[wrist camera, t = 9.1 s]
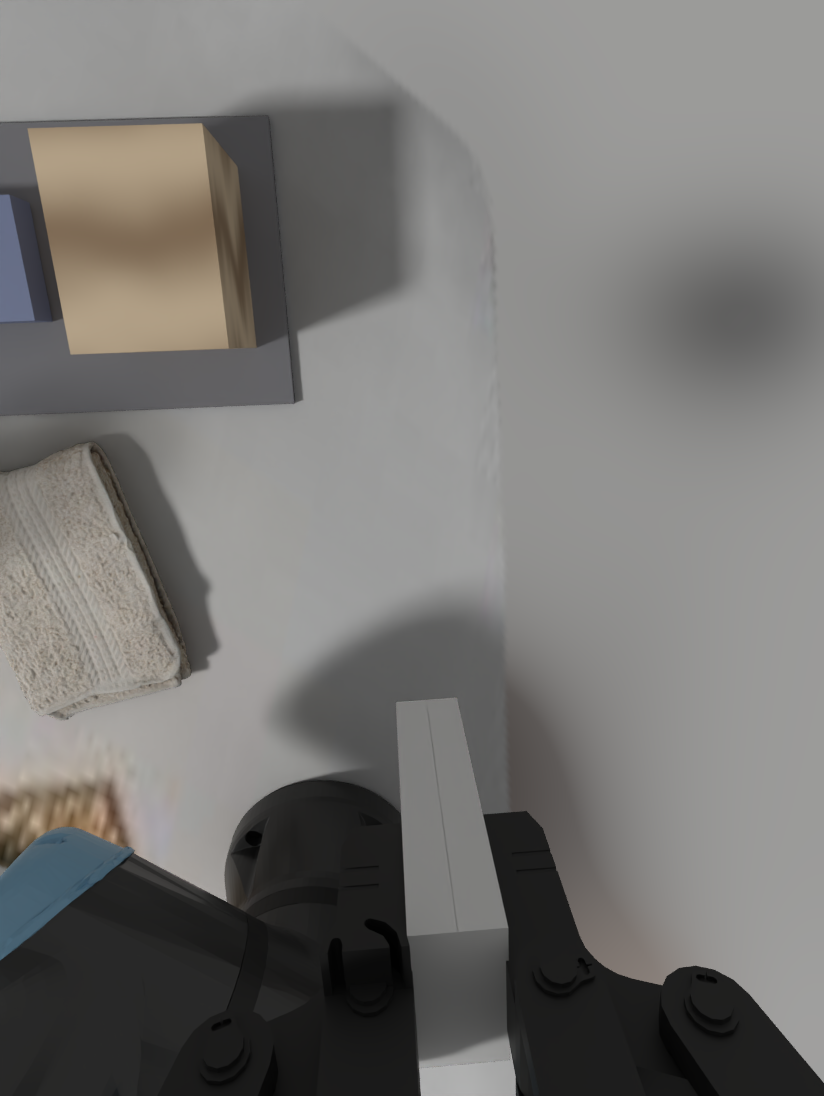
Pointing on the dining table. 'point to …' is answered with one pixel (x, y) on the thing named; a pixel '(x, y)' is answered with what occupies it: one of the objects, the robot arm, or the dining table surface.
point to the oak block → (145, 238)
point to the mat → (167, 376)
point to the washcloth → (81, 589)
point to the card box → (20, 266)
